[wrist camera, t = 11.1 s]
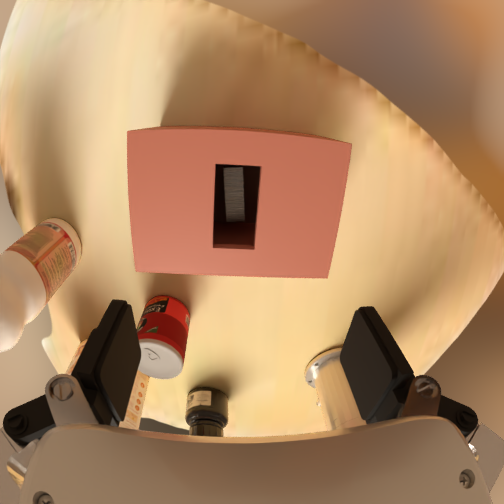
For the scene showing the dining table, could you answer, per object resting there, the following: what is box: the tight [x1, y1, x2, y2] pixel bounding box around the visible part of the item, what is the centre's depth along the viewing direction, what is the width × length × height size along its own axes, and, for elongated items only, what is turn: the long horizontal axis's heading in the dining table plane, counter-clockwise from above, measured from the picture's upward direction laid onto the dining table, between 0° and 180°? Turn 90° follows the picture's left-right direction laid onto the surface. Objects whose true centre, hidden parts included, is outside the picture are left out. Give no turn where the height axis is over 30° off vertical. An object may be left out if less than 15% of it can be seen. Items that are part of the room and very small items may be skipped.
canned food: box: [136, 295, 190, 379], centre depth 40 cm, size 8×8×11 cm
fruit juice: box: [0, 218, 81, 352], centre depth 25 cm, size 9×9×28 cm
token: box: [223, 164, 245, 222], centre depth 33 cm, size 6×2×6 cm
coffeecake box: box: [66, 339, 149, 430], centre depth 41 cm, size 15×7×20 cm, turn 31°
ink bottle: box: [185, 387, 228, 437], centre depth 51 cm, size 10×9×12 cm
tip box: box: [127, 126, 352, 278], centre depth 31 cm, size 14×20×12 cm
